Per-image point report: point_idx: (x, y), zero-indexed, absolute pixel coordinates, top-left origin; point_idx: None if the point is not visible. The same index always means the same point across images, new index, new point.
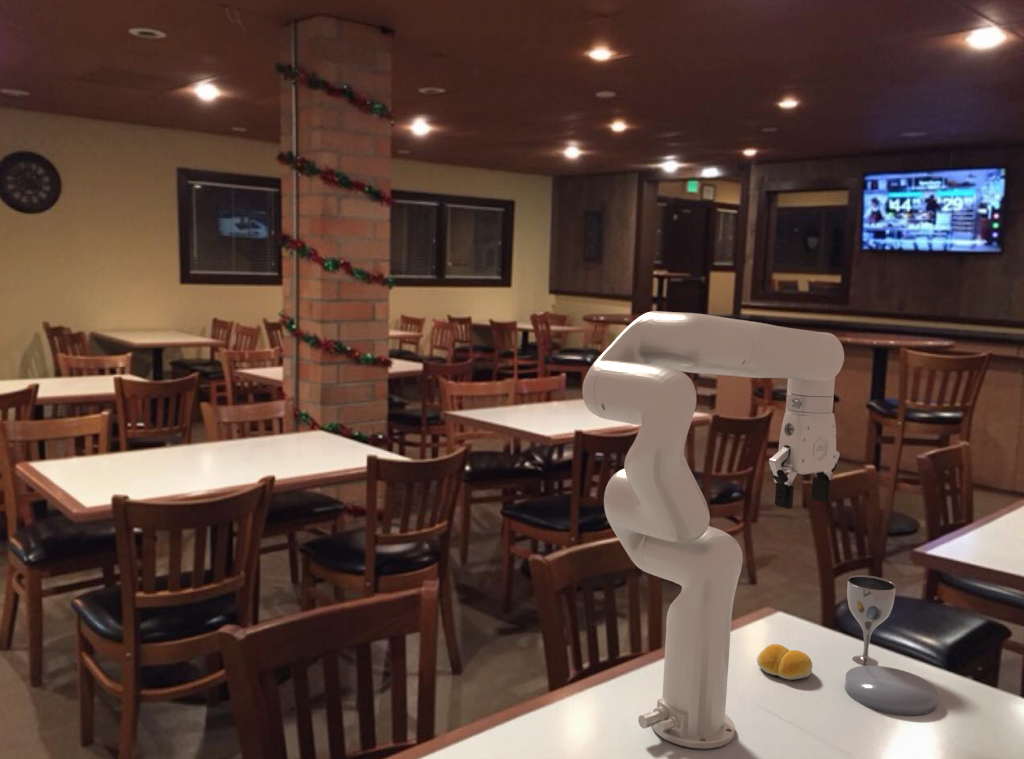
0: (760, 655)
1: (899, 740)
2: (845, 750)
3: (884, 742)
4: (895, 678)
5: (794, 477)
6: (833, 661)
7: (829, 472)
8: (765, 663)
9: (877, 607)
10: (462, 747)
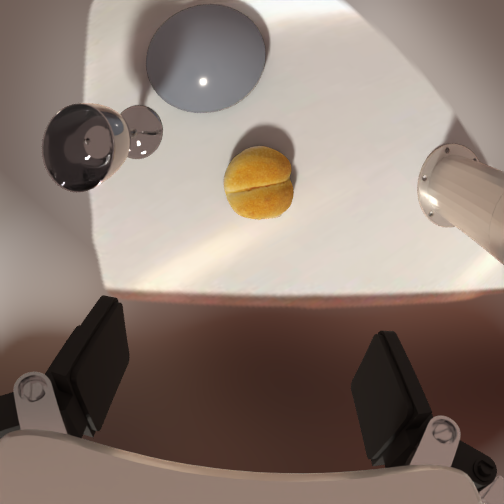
0: (282, 212)
1: (318, 5)
2: (389, 41)
3: (337, 15)
4: (180, 61)
5: (415, 458)
6: (168, 159)
7: (35, 413)
8: (292, 197)
9: (115, 112)
10: None
